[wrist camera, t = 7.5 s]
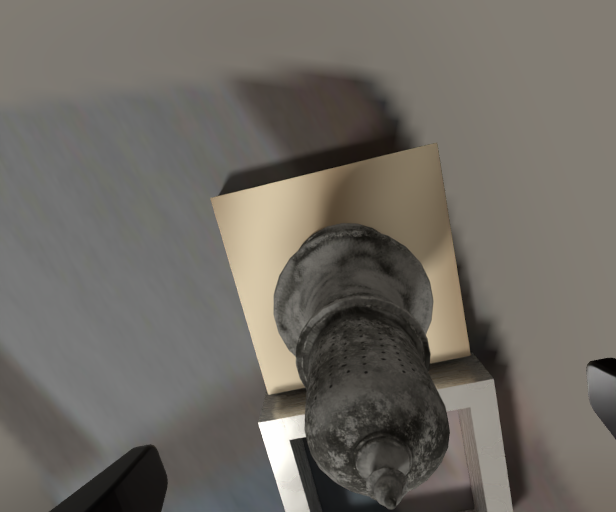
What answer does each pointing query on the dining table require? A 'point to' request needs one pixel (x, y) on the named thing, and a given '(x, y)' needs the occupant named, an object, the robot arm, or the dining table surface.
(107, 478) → the robot arm
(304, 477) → the grey square frame
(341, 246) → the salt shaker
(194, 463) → the dining table surface
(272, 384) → the wooden square board
